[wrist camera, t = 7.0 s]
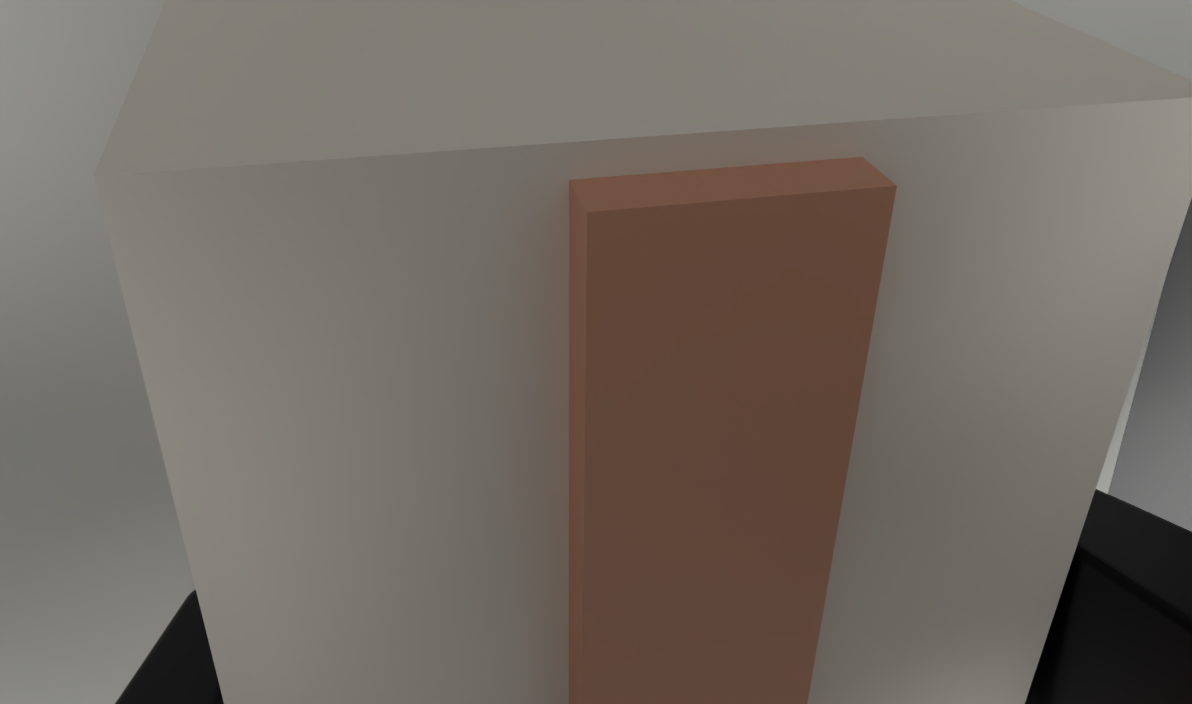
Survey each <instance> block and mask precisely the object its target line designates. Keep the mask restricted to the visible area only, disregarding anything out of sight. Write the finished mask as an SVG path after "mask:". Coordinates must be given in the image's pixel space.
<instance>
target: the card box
mask: <svg viewBox="0 0 1192 704" xmlns="http://www.w3.org/2000/svg"><path fill="white" fill-rule="evenodd" d="M93 177H94V181H95V185H96V189H97V193H98V197H99V201H100V205H101V209H102V213H103V217H104V221H105V225H106V229H107V233H108V237H109V241H110V245H111V249H112V253H113V258H114V262H115V266H116V270H117V274H118V278H119V282H120V286H121V290H122V294H123V298H124V302H125V306H126V310H127V314H128V318H129V322H130V326H131V330H132V334H133V338H134V342H135V346H136V350H137V354H138V358H139V363H140V367H141V371H142V375H143V379H144V383H145V387H146V391H147V395H148V399H149V403H150V407H151V411H152V415H153V419H154V423H155V427H156V431H157V435H158V439H159V443H160V447H161V451H162V455H163V459H164V463H165V467H166V472H167V476H168V480H169V484H170V488H171V492H172V496H173V500H174V504H175V508H176V512H177V516H178V520H179V524H180V528H181V532H182V536H183V540H184V544H185V548H186V552H187V556H188V560H189V564H190V568H191V572H192V576H193V581H194V585H195V589H196V593H197V597H198V601H199V605H200V609H201V613H202V617H203V621H204V625H205V629H206V633H207V637H208V641H209V645H210V649H211V653H212V657H213V661H214V665H215V669H216V673H217V677H218V681H219V686H220V690H221V694H222V698H223V702H224V704H1025V701H1026V698H1027V695H1028V692H1029V689H1030V686H1031V683H1032V680H1033V677H1034V674H1035V671H1036V668H1037V665H1038V662H1039V659H1040V656H1041V653H1042V650H1043V647H1044V644H1045V641H1046V638H1047V635H1048V632H1049V629H1050V626H1051V623H1052V620H1053V617H1054V614H1055V611H1056V608H1057V605H1058V601H1059V598H1060V595H1061V592H1062V589H1063V586H1064V583H1065V580H1066V577H1067V574H1068V571H1069V568H1070V565H1071V562H1072V559H1073V556H1074V553H1075V550H1076V547H1077V544H1078V541H1079V538H1080V535H1081V532H1082V529H1083V526H1084V523H1085V520H1086V517H1087V514H1088V511H1089V508H1090V505H1091V501H1092V498H1093V495H1094V492H1095V489H1096V486H1097V483H1098V480H1099V477H1100V474H1101V471H1102V468H1103V465H1104V462H1105V459H1106V456H1107V453H1108V450H1109V447H1110V444H1111V441H1112V438H1113V435H1114V432H1115V429H1116V426H1117V423H1118V420H1119V417H1120V414H1121V411H1122V408H1123V405H1124V401H1125V398H1126V395H1127V392H1128V389H1129V386H1130V383H1131V380H1132V377H1133V374H1134V371H1135V368H1136V365H1137V362H1138V359H1139V356H1140V353H1141V350H1142V347H1143V344H1144V341H1145V338H1146V335H1147V332H1148V329H1149V326H1150V323H1151V320H1152V317H1153V314H1154V311H1155V308H1156V305H1157V301H1158V298H1159V295H1160V292H1161V289H1162V286H1163V283H1164V280H1165V277H1166V274H1167V271H1168V268H1169V265H1170V262H1171V259H1172V256H1173V253H1174V250H1175V247H1176V244H1177V241H1178V238H1179V235H1180V232H1181V229H1182V226H1183V223H1184V220H1185V217H1186V214H1187V211H1188V208H1189V205H1190V201H1191V198H1192V80H1190V79H1188V78H1186V77H1183V76H1181V75H1179V74H1176V73H1174V72H1172V71H1170V70H1167V69H1165V68H1163V67H1161V66H1158V65H1156V64H1154V63H1151V62H1149V61H1147V60H1145V59H1142V58H1140V57H1138V56H1136V55H1133V54H1131V53H1129V52H1126V51H1124V50H1122V49H1120V48H1117V47H1115V46H1113V45H1111V44H1108V43H1106V42H1104V41H1101V40H1099V39H1097V38H1095V37H1092V36H1090V35H1088V34H1086V33H1083V32H1081V31H1079V30H1076V29H1074V28H1072V27H1070V26H1067V25H1065V24H1063V23H1061V22H1058V21H1056V20H1054V19H1051V18H1049V17H1047V16H1045V15H1042V14H1040V13H1038V12H1036V11H1033V10H1031V9H1029V8H1026V7H1024V6H1022V5H1020V4H1017V3H1015V2H1013V1H1011V0H166V1H165V4H164V6H163V9H162V11H161V13H160V16H159V18H158V21H157V23H156V25H155V28H154V30H153V33H152V35H151V38H150V40H149V42H148V45H147V47H146V50H145V52H144V55H143V57H142V59H141V62H140V64H139V67H138V69H137V72H136V74H135V76H134V79H133V81H132V84H131V86H130V88H129V91H128V93H127V96H126V98H125V101H124V103H123V105H122V108H121V110H120V113H119V115H118V118H117V120H116V122H115V125H114V127H113V130H112V132H111V134H110V137H109V139H108V142H107V144H106V147H105V149H104V151H103V154H102V156H101V159H100V161H99V164H98V166H97V168H96V171H95V173H94V176H93Z"/></svg>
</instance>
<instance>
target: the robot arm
mask: <svg viewBox="0 0 1192 704" xmlns="http://www.w3.org/2000/svg"><path fill="white" fill-rule="evenodd" d="M115 704H224V702H223V698H222V694H221V690H220V686H219V681H218V677H217V673H216V669H215V665H214V661H213V657H212V653H211V649H210V645H209V641H208V637H207V633H206V629H205V625H204V621H203V617H202V613H201V609H200V605H199V601H198V597H197V593H196V589H195V590H194V591H192V592H191V593H190V594H189V595H188V596H187V598H186V599H185V601H184V602H183V604H182V605H181V606H180V608H179V609H178V611H177V612H176V614H175V615H174V617H173V618H172V620H171V621H170V623H169V624H168V626H167V627H166V629H165V630H164V632H163V633H162V635H161V636H160V638H159V639H158V641H157V642H156V644H155V645H154V646H153V648H152V649H151V651H150V652H149V654H148V655H147V657H146V658H145V660H144V661H143V663H142V664H141V666H140V667H139V669H138V670H137V672H136V673H135V675H134V676H133V678H132V679H131V681H130V682H129V683H128V685H127V686H126V688H125V689H124V691H123V692H122V694H121V695H120V697H119V698H118V700H117V701H116V703H115ZM1025 704H1192V532H1191V531H1189V530H1187V529H1184V528H1182V527H1180V526H1178V525H1175V524H1173V523H1171V522H1169V521H1167V520H1164V519H1162V518H1160V517H1158V516H1155V515H1153V514H1151V513H1149V512H1146V511H1144V510H1142V509H1140V508H1138V507H1135V506H1133V505H1131V504H1129V503H1126V502H1124V501H1122V500H1120V499H1118V498H1115V497H1113V496H1111V495H1109V494H1106V493H1104V492H1102V491H1100V490H1098V489H1095V492H1094V495H1093V498H1092V501H1091V505H1090V508H1089V511H1088V514H1087V517H1086V520H1085V523H1084V526H1083V529H1082V532H1081V535H1080V538H1079V541H1078V544H1077V547H1076V550H1075V553H1074V556H1073V559H1072V562H1071V565H1070V568H1069V571H1068V574H1067V577H1066V580H1065V583H1064V586H1063V589H1062V592H1061V595H1060V598H1059V601H1058V605H1057V608H1056V611H1055V614H1054V617H1053V620H1052V623H1051V626H1050V629H1049V632H1048V635H1047V638H1046V641H1045V644H1044V647H1043V650H1042V653H1041V656H1040V659H1039V662H1038V665H1037V668H1036V671H1035V674H1034V677H1033V680H1032V683H1031V686H1030V689H1029V692H1028V695H1027V698H1026V701H1025Z"/></svg>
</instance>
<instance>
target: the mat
mask: <svg viewBox="0 0 1192 704" xmlns="http://www.w3.org/2000/svg"><path fill="white" fill-rule="evenodd" d="M165 1H166V0H0V704H115V703H116V701H117V700H118V698H119V697H120V695H121V694H122V692H123V691H124V689H125V688H126V686H127V685H128V683H129V682H130V681H131V679H132V678H133V676H134V675H135V673H136V672H137V670H138V669H139V667H140V666H141V664H142V663H143V661H144V660H145V658H146V657H147V655H148V654H149V652H150V651H151V649H152V648H153V646H154V645H155V644H156V642H157V641H158V639H159V638H160V636H161V635H162V633H163V632H164V630H165V629H166V627H167V626H168V624H169V623H170V621H171V620H172V618H173V617H174V615H175V614H176V612H177V611H178V609H179V608H180V606H181V605H182V604H183V602H184V601H185V599H186V598H187V596H188V595H189V594H190V593H191V592H192V591H194V590H195V585H194V581H193V576H192V572H191V568H190V564H189V560H188V556H187V552H186V548H185V544H184V540H183V536H182V532H181V528H180V524H179V520H178V516H177V512H176V508H175V504H174V500H173V496H172V492H171V488H170V484H169V480H168V476H167V472H166V467H165V463H164V459H163V455H162V451H161V447H160V443H159V439H158V435H157V431H156V427H155V423H154V419H153V415H152V411H151V407H150V403H149V399H148V395H147V391H146V387H145V383H144V379H143V375H142V371H141V367H140V363H139V358H138V354H137V350H136V346H135V342H134V338H133V334H132V330H131V326H130V322H129V318H128V314H127V310H126V306H125V302H124V298H123V294H122V290H121V286H120V282H119V278H118V274H117V270H116V266H115V262H114V258H113V253H112V249H111V245H110V241H109V237H108V233H107V229H106V225H105V221H104V217H103V213H102V209H101V205H100V201H99V197H98V193H97V189H96V185H95V181H94V177H93V176H94V173H95V171H96V168H97V166H98V164H99V161H100V159H101V156H102V154H103V151H104V149H105V147H106V144H107V142H108V139H109V137H110V134H111V132H112V130H113V127H114V125H115V122H116V120H117V118H118V115H119V113H120V110H121V108H122V105H123V103H124V101H125V98H126V96H127V93H128V91H129V88H130V86H131V84H132V81H133V79H134V76H135V74H136V72H137V69H138V67H139V64H140V62H141V59H142V57H143V55H144V52H145V50H146V47H147V45H148V42H149V40H150V38H151V35H152V33H153V30H154V28H155V25H156V23H157V21H158V18H159V16H160V13H161V11H162V9H163V6H164V4H165ZM1011 1H1013V2H1015V3H1017V4H1020V5H1022V6H1024V7H1026V8H1029V9H1031V10H1033V11H1036V12H1038V13H1040V14H1042V15H1045V16H1047V17H1049V18H1051V19H1054V20H1056V21H1058V22H1061V23H1063V24H1065V25H1067V26H1070V27H1072V28H1074V29H1076V30H1079V31H1081V32H1083V33H1086V34H1088V35H1090V36H1092V37H1095V38H1097V39H1099V40H1101V41H1104V42H1106V43H1108V44H1111V45H1113V46H1115V47H1117V48H1120V49H1122V50H1124V51H1126V52H1129V53H1131V54H1133V55H1136V56H1138V57H1140V58H1142V59H1145V60H1147V61H1149V62H1151V63H1154V64H1156V65H1158V66H1161V67H1163V68H1165V69H1167V70H1170V71H1172V72H1174V73H1176V74H1179V75H1181V76H1183V77H1186V78H1188V79H1190V80H1192V0H1011ZM1166 275H1167V274H1166ZM1165 279H1166V277H1165ZM1164 283H1165V280H1164ZM1164 283H1163V286H1164ZM1163 286H1162V289H1161V292H1160V295H1159V298H1158V301H1157V305H1156V308H1155V311H1154V314H1153V317H1152V320H1151V323H1150V326H1149V329H1148V332H1147V335H1146V338H1145V341H1144V344H1143V347H1142V350H1141V353H1140V356H1139V359H1138V362H1137V365H1136V368H1135V371H1134V374H1133V377H1132V380H1131V383H1130V386H1129V389H1128V392H1127V395H1126V398H1125V401H1124V405H1123V408H1122V411H1121V414H1120V417H1119V420H1118V423H1117V426H1116V429H1115V432H1114V435H1113V438H1112V441H1111V444H1110V447H1109V450H1108V453H1107V456H1106V459H1105V462H1104V465H1103V468H1102V471H1101V474H1100V477H1099V480H1098V483H1097V486H1096V489H1098V490H1100V491H1102V492H1104V493H1106V494H1108V491H1109V487H1110V483H1111V480H1112V476H1113V472H1114V468H1115V465H1116V461H1117V457H1118V454H1119V450H1120V446H1121V442H1122V439H1123V435H1124V431H1125V428H1126V424H1127V420H1128V416H1129V413H1130V409H1131V405H1132V401H1133V398H1134V394H1135V390H1136V387H1137V383H1138V379H1139V375H1140V372H1141V368H1142V364H1143V361H1144V357H1145V353H1146V349H1147V346H1148V342H1149V338H1150V335H1151V331H1152V327H1153V323H1154V320H1155V316H1156V312H1157V309H1158V305H1159V301H1160V297H1161V294H1162V290H1163Z"/></svg>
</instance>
